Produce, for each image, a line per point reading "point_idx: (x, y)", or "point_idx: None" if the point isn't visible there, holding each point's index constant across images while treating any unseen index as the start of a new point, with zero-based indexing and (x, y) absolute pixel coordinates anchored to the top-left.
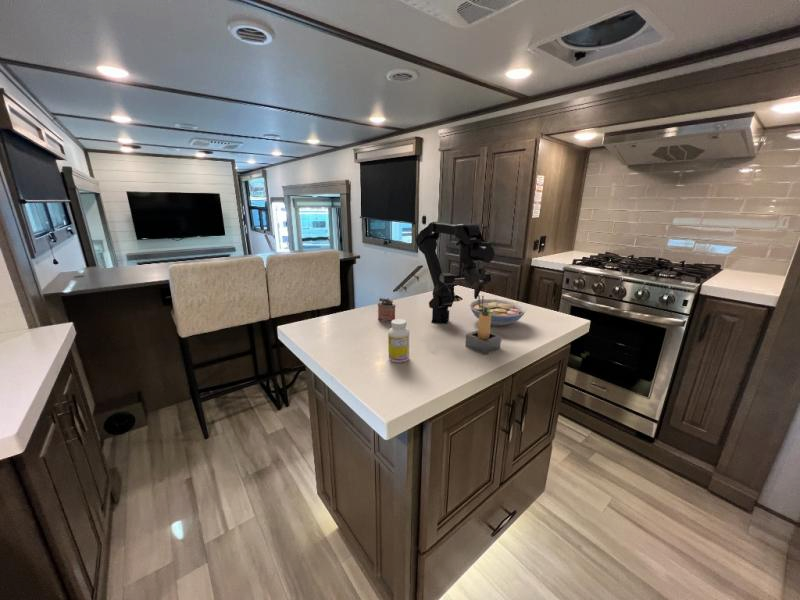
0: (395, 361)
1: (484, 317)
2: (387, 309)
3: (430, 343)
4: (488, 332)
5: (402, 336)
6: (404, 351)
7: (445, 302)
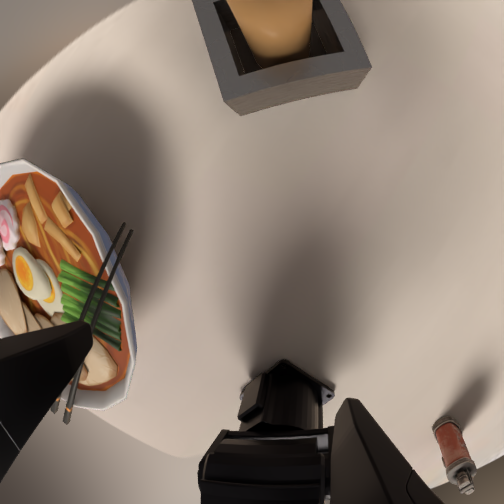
0: None
1: None
2: (468, 454)
3: (476, 195)
4: None
5: None
6: None
7: (291, 448)
